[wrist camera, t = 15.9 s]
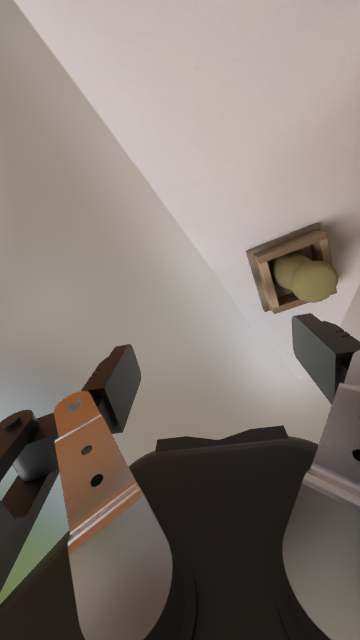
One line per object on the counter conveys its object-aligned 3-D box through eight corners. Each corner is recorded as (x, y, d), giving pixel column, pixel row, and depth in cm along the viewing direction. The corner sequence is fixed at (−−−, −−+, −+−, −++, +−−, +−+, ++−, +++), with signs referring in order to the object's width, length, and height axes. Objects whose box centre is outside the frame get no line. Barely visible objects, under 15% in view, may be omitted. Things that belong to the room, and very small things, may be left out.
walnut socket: (245, 251, 39) (252, 254, 34) (315, 223, 36) (330, 223, 32) (263, 310, 42) (271, 319, 38) (327, 288, 40) (343, 295, 36)
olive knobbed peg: (260, 267, 38) (284, 283, 28) (293, 241, 37) (330, 248, 26) (281, 294, 40) (310, 318, 30) (314, 270, 38) (356, 287, 28)
